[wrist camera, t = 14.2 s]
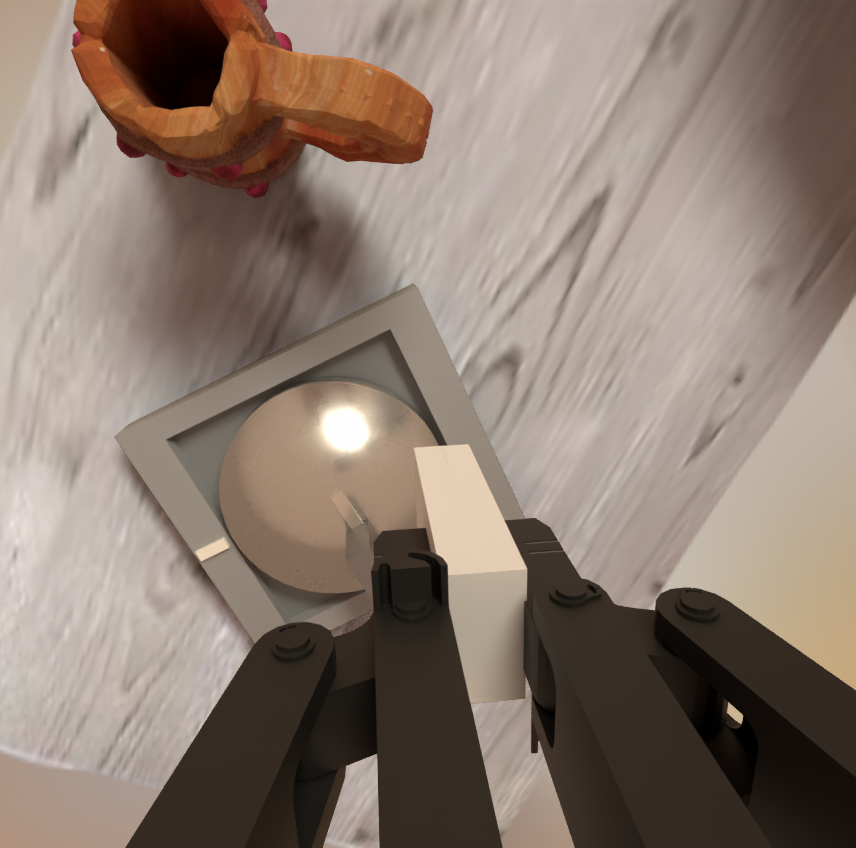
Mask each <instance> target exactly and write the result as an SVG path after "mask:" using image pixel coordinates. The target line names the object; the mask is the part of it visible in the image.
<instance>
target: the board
mask: <svg viewBox="0 0 856 848" xmlns="http://www.w3.org/2000/svg"><path fill="white" fill-rule="evenodd" d="M323 376H348V377H354V378H359V379H364V380H367V381H371V382H374V383H377V384H379V385H381V386H383V387H386V388H388V389H390V390H392V391H393V392H395V393H396V394H398V395H399V396H401V397H403V398H404V399H405V400H406V401H407V402H408V403H410V404H411V405H412V406H413V407H414V408H415V409H416V410H417V411H418V412H419V413H420V415H421V416H422V417H423V418H424V420H425V421H426V423H427V424H428V425H429V427H430V428H431V430H432V432H433V434H434V436H435V438H436V441H437V443H438V445H439V446H447V445H463V444H469V446H470V448H471V450H472V452H473V455H474V457H475V459H476V461H477V463H478V465H479V467H480V469H481V472H482V474H483V476H484V478H485V480H486V482H487V484H488V487H489V489H490V491H491V493H492V495H493V497H494V499H495V501H496V504H497V506H498V508H499V510H500V512H501V514H502V516H503V519H504V520H515V519H525V517H524V515H523V512H522V510H521V508H520V506H519V504H518V502H517V500H516V497H515V495H514V493H513V491H512V489H511V487H510V485H509V482H508V480H507V478H506V476H505V474H504V472H503V470H502V467H501V465H500V463H499V461H498V459H497V457H496V455H495V452H494V450H493V448H492V446H491V444H490V442H489V440H488V437H487V435H486V433H485V431H484V429H483V427H482V425H481V422H480V420H479V418H478V416H477V414H476V412H475V410H474V407H473V405H472V403H471V401H470V399H469V397H468V395H467V393H466V390H465V388H464V386H463V384H462V382H461V380H460V378H459V375H458V373H457V371H456V369H455V367H454V365H453V363H452V360H451V358H450V356H449V354H448V352H447V350H446V348H445V345H444V343H443V341H442V339H441V337H440V335H439V333H438V330H437V328H436V326H435V324H434V322H433V320H432V318H431V315H430V313H429V311H428V309H427V307H426V305H425V303H424V300H423V298H422V296H421V294H420V292H419V290H418V288H417V286H415V285H414V284H411V285H409V286H407V287H405V288H403V289H401V290H399V291H397V292H395V293H393V294H391V295H389V296H387V297H385V298H383V299H381V300H379V301H377V302H375V303H373V304H371V305H369V306H367V307H365V308H363V309H361V310H359V311H357V312H355V313H353V314H351V315H349V316H347V317H345V318H343V319H341V320H338V321H336V322H334V323H332V324H330V325H328V326H326V327H324V328H322V329H320V330H318V331H316V332H314V333H312V334H310V335H308V336H306V337H304V338H302V339H300V340H298V341H296V342H294V343H292V344H290V345H288V346H286V347H284V348H282V349H280V350H278V351H276V352H274V353H272V354H270V355H268V356H266V357H264V358H262V359H260V360H258V361H256V362H254V363H252V364H249V365H247V366H245V367H243V368H241V369H239V370H237V371H235V372H233V373H231V374H229V375H227V376H225V377H223V378H221V379H219V380H217V381H215V382H213V383H211V384H209V385H207V386H205V387H203V388H201V389H199V390H197V391H195V392H193V393H191V394H189V395H187V396H185V397H183V398H181V399H179V400H177V401H175V402H173V403H171V404H169V405H167V406H165V407H163V408H160V409H158V410H156V411H154V412H152V413H150V414H148V415H146V416H144V417H142V418H140V419H138V420H136V421H134V422H132V423H130V424H129V425H127V426H126V427H125V428H124V429H123V430H122V431H120V432H119V433H118V434H117V435H116V436H114V438H115V439H116V440H117V442H118V443H119V445H120V446H121V448H122V449H123V451H124V452H125V454H126V455H127V457H128V458H129V460H130V461H131V463H132V464H133V465H134V467H135V468H136V470H137V471H138V473H139V474H140V476H141V477H142V479H143V480H144V482H145V483H146V485H147V486H148V487H149V489H150V490H151V492H152V493H153V495H154V496H155V498H156V499H157V501H158V502H159V504H160V505H161V507H162V508H163V509H164V511H165V512H166V514H167V515H168V517H169V518H170V520H171V521H172V523H173V524H174V526H175V527H176V529H177V530H178V532H179V533H180V534H181V536H182V537H183V539H184V540H185V542H186V543H187V545H188V546H189V548H190V549H191V551H192V552H193V554H194V555H195V556H196V558H197V559H198V561H199V562H200V564H201V565H202V567H203V568H204V570H205V571H206V573H207V574H208V576H209V577H210V579H211V580H212V581H213V583H214V584H215V586H216V587H217V589H218V590H219V592H220V593H221V595H222V596H223V598H224V599H225V601H226V602H227V603H228V605H229V606H230V608H231V609H232V611H233V612H234V614H235V615H236V617H237V618H238V620H239V621H240V623H241V624H242V625H243V627H244V628H245V630H246V631H247V633H248V634H249V636H250V637H251V639H252V640H253V642H254V643H256V642H257V641H258V640H259V639H260V638H261V637H262V636H263V635H264V634H265V633H267V632H269V631H271V630H272V629H274V628H276V627H279V626H282V625H286V624H289V623H296V622H310V623H315V624H320V625H322V626H323V627H325V628H327V629H328V630H332V629H334V628H336V627H338V626H340V625H342V624H344V623H346V622H348V621H350V620H353V619H355V618H357V617H359V616H361V615H363V614H365V613H367V612H369V611H371V610H373V609H374V608H373V601H372V599H371V598H370V597H369V595H368V594H367V592H366V591H365V589H363V590H358V591H354V592H346V593H320V592H312V591H307V590H303V589H299V588H295V587H293V586H290V585H287V584H285V583H282V582H280V581H278V580H276V579H275V578H273V577H271V576H269V575H268V574H266V573H265V572H263V571H262V570H260V569H259V568H258V567H257V566H256V565H255V564H253V563H252V562H251V561H250V560H249V559H248V558H247V557H246V556H245V555H244V553H243V552H242V551H241V550H240V549H239V547H238V546H237V544H236V543H235V541H234V540H233V538H232V536H231V534H230V532H229V530H228V528H227V526H226V523H225V520H224V517H223V514H222V510H221V504H220V498H219V481H220V474H221V468H222V464H223V461H224V457H225V454H226V452H227V450H228V448H229V445H230V443H231V441H232V439H233V438H234V436H235V434H236V433H237V431H238V429H239V428H240V426H241V425H242V423H243V421H244V420H245V419H246V418H247V416H248V415H249V414H250V413H251V412H252V411H253V409H254V408H256V407H257V406H258V405H259V404H260V403H261V402H262V401H263V400H264V399H266V398H267V397H269V396H270V395H272V394H273V393H275V392H276V391H278V390H280V389H282V388H284V387H286V386H288V385H290V384H293V383H296V382H299V381H302V380H306V379H311V378H316V377H323Z"/></svg>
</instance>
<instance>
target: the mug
mask: <svg viewBox="0 0 856 848" xmlns="http://www.w3.org/2000/svg"><path fill="white" fill-rule="evenodd" d="M266 9H267V1H266V0H77V1H76V6H75V10H74V21H73V23H74V25H75V26H76V28H77V29H78V31H77V32H76V33H74V34H73V44H72V45H73V46H74V48H73V49H72V50H71V51H72V54H73V56H74V59H75V62H76V64H77V67H78V70H79V72H80V75H81V77H82V80H83V82H84V83H85V84H86V86H87V87H88V89H89V90H90V91H91V93H92V95H93V96H94V98H95V99H96V101H97V103H98V105H99V107H100V109H101V111H102V112H103V113H104V115H105V116H106V117H107V118H108V120H109V121H110V122H111V124H112V125H113V127H114V128H115V130H116V131H117V137H116V139H117V145H118V147H119V149H120V150H121V151H122V152H123V153H124V154H126V155H127V156H128V157H130V158H138V157H142V156H144V155H145V154H149V155H151V156H153V157H155V158H158V159H160V160H163V161H166V167H167V170H168V172H169V173H170V174H172V175H173V176H176V177H184V176H186V175H187V174H190V175H192V176H194V177H196V178H198V179H201V180H204V181H206V182H209V183H211V184H214V185H218V186H221V187H229V188H236V189H242V188H244V189H245V191H246V192H247V194H248V195H249V196H252V197H254V198H260V197H262V196H264V195H265V194H266V192H267V190H268V187H269V184H268V183H270V182H271V181H273V180H275V179H277V178H279V177H280V176H282V175H283V174H284V173H285V172H286V171H287V169H288V168H289V167H290V166H291V165H292V164H293V163H294V162H295V160H296V159H297V158H298V157H299V156H300V154H301V153H302V151H303V149H304V147H305V145H306V143H307V144H310V145H313V146H316V147H319V148H321V149H322V150H324V151H326V152H328V153H330V154H331V155H333V156H335V157H337V158H339V159H342V160H344V161H346V162H351V161H369V162H380V163H393V164H404V163H413V162H416V161H419V160H420V159H421V158H423V154H424V151H425V147H426V144H427V141H426V139H427V138H428V134H429V129H430V122H431V118H432V113H433V109H432V106H431V104H430V103H429V101H428V100H427V99H426V97H425V96H424V95H423V94H422V93H420V92H419V91H418V90H416V89H415V88H414V87H412V86H411V85H409V84H408V83H407V82H405V81H404V80H402V79H401V78H399V77H398V76H397V75H395V74H393V73H391V72H389V71H386V70H384V69H381V68H379V67H376V66H374V65H372V64H369V63H365V62H362V61H359V60H356V59H353V58H344V57H334V56H322V55H308V54H303V53H297V52H292V43H291V41H290V39H289V37H288V36H287V35H286V34H283V33H281V32H274V30H273V28H272V27H271V25H270V23H269V21H268V20H267V18H266V16H265V15H264V13H265V11H266Z"/></svg>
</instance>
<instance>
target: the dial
mask: <svg viewBox="0 0 856 848" xmlns="http://www.w3.org/2000/svg"><path fill="white" fill-rule="evenodd" d="M431 446H439V445H438V443H437V441H436V438H435V436H434V434H433V432H432V430H431V428H430V427H429V425H428V424H427V423H426V421H425V420H424V418H423V417H422V416H421V415H420V413H419V412H418V411H417V410H416V409H415V408H414V407H413V406H412V405H411V404H410V403H408V402H407V401H406V400H405V399H404V398H403V397H401V396H399V395H398V394H396V393H395V392H393V391H392V390H390V389H388V388H386V387H383V386H381V385H379V384H377V383H374V382H371V381H367V380H364V379H359V378H354V377H348V376H323V377H316V378H311V379H306V380H302V381H299V382H296V383H293V384H290V385H288V386H286V387H284V388H282V389H280V390H278V391H276V392H275V393H273V394H272V395H270V396H269V397H267V398H266V399H264V400H263V401H262V402H261V403H260V404H259V405H258V406H257V407H256V408H254V409H253V411H252V412H251V413H250V414H249V415H248V416H247V418H246V419H245V420H244V421H243V423H242V425H241V426H240V428H239V429H238V431H237V433H236V434H235V436H234V438H233V439H232V441H231V443H230V445H229V448H228V450H227V452H226V454H225V457H224V461H223V464H222V468H221V474H220V481H219V498H220V504H221V510H222V514H223V517H224V520H225V523H226V526H227V528H228V530H229V532H230V534H231V536H232V538H233V540H234V541H235V543H236V544H237V546H238V547H239V549H240V550H241V551H242V552H243V553H244V555H245V556H246V557H247V558H248V559H249V560H250V561H251V562H252V563H253V564H255V565H256V566H257V567H258V568H259V569H260V570H262V571H263V572H265V573H266V574H268V575H269V576H271V577H273V578H275V579H276V580H278V581H280V582H282V583H285V584H287V585H290V586H293V587H295V588H299V589H303V590H307V591H312V592H320V593H346V592H354V591H358V590H363V589H365V591H366V592H367V594H368V595H369V597H370V598H371V599H372V601H373V594H372V579H371V570H372V567H373V564H374V544H373V542H374V541H375V540H376V539H377V537H378V536H379V535H380V533H381V532H382V531H388V530H402V529H415V528H417V512H416V489H415V466H414V448H416V447H431Z"/></svg>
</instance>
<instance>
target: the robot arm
mask: <svg viewBox="0 0 856 848" xmlns="http://www.w3.org/2000/svg"><path fill="white" fill-rule="evenodd" d="M414 466H415V489H416V512H417V528H415V529H402V530H388V531H382V532H381V533H380V535H379V536H378V537H377V539H376V540H375V541H374V542H373V544H374V564H373V567H372V570H371V579H372V594H373V608H374V612H373V614H372V616H371V617H370V619H369V620H368V621H367V622H366V623H365V624H363V625H362V626H360V627H359V628H357V629H355V630H354V631H351V632H348V633H346V634H343V635H340V636H337V637H333V636H332V634H331V632H330V630H328V629H327V628H325V627H323V626H322V625H320V624H315V623H310V622H296V623H289V624H286V625H282V626H279V627H276V628H274V629H272V630H271V631H269V632H267V633H265V634H264V635H263V636H262V637H261V638H260V639H259V640H258V641H257V642H256V643H255V644H254V646H253V647H252V649H251V651H250V652H249V654H248V655H247V657H246V658H245V660H244V662H243V663H242V665H241V666H240V668H239V670H238V671H237V673H236V674H235V676H234V677H233V679H232V681H231V682H230V684H229V685H228V687H227V688H226V690H225V692H224V693H223V695H222V696H221V698H220V699H219V701H218V703H217V704H216V706H215V707H214V709H213V710H212V712H211V714H210V715H209V717H208V718H207V720H206V722H205V723H204V725H203V726H202V728H201V729H200V731H199V733H198V734H197V736H196V737H195V739H194V740H193V742H192V744H191V745H190V747H189V748H188V750H187V751H186V753H185V755H184V756H183V758H182V759H181V761H180V762H179V764H178V766H177V767H176V769H175V770H174V772H173V774H172V775H171V777H170V778H169V780H168V781H167V783H166V785H165V786H164V788H163V789H162V791H161V792H160V794H159V796H158V797H157V799H156V800H155V802H154V803H153V805H152V807H151V808H150V810H149V811H148V813H147V815H146V816H145V818H144V819H143V821H142V822H141V824H140V826H139V827H138V829H137V830H136V832H135V833H134V835H133V837H132V838H131V840H130V842H129V843H128V845H127V846H126V848H323V845H324V841H325V838H326V835H327V832H328V829H329V826H330V823H331V820H332V816H333V813H334V810H335V807H336V804H337V801H338V798H339V795H340V792H341V788H342V785H343V782H344V779H345V772H346V766H347V765H349V764H352V763H354V762H357V761H359V760H362V759H364V758H367V757H370V756H372V755H375V754H377V760H378V800H379V841H380V848H502V843H501V838H500V834H499V829H498V825H497V820H496V816H495V811H494V807H493V802H492V798H491V793H490V789H489V784H488V780H487V775H486V771H485V766H484V762H483V757H482V753H481V748H480V744H479V739H478V735H477V730H476V726H475V721H474V717H473V712H472V708H471V704H473V703H484V702H494V701H504V700H515V699H525V679H526V677H527V680H528V683H529V686H530V689H531V691H532V708H531V753H538V741H540V744H541V747H542V750H543V753H544V756H545V759H546V762H547V765H548V768H549V771H550V774H551V777H552V780H553V783H554V786H555V789H556V792H557V795H558V798H559V801H560V804H561V807H562V810H563V813H564V816H565V819H566V822H567V825H568V828H569V831H570V834H571V837H572V840H573V843H574V846H575V848H856V690H854V689H853V688H851V687H850V686H849V685H847V684H846V683H844V682H843V681H841V680H840V679H839V678H837V677H836V676H834V675H833V674H832V673H830V672H829V671H827V670H826V669H824V668H823V667H822V666H820V665H819V664H817V663H816V662H814V661H813V660H812V659H810V658H809V657H807V656H806V655H804V654H803V653H801V652H800V651H799V650H797V649H796V648H795V647H793V646H792V645H790V644H789V643H787V642H786V641H785V640H783V639H782V638H780V637H779V636H777V635H776V634H775V633H773V632H772V631H770V630H769V629H767V628H766V627H765V626H763V625H762V624H760V623H759V622H757V621H756V620H755V619H753V618H752V617H750V616H749V615H748V614H746V613H745V612H743V611H742V610H740V609H739V608H737V607H736V606H735V605H733V604H732V603H730V602H729V601H727V600H726V599H724V598H722V597H720V596H718V595H716V594H714V593H710V592H707V591H704V590H702V589H697V588H676V589H670V590H668V591H665V592H663V593H661V594H660V595H659V597H658V598H657V600H656V607H655V610H646V609H637V608H629V607H624V606H618V605H615V604H614V603H613V602H612V600H611V599H610V597H609V595H608V594H607V593H606V592H605V591H604V590H603V589H602V588H601V587H600V586H599V585H597V584H595V583H593V582H591V581H589V580H586V579H582V578H580V576H579V574H578V573H577V571H576V569H575V568H574V566H573V565H572V563H571V561H570V560H569V558H568V556H567V555H566V553H565V551H563V548H562V546H561V545H560V543H559V542H557V538H556V537H555V535H554V533H553V532H552V530H551V528H550V527H548V526H547V525H545V524H544V523H542V522H540V521H539V520H537V519H536V518H529V519H515V520H504V519H503V516H502V514H501V512H500V510H499V508H498V506H497V504H496V501H495V499H494V497H493V495H492V493H491V491H490V489H489V487H488V484H487V482H486V480H485V478H484V476H483V474H482V472H481V469H480V467H479V465H478V463H477V461H476V459H475V457H474V455H473V452H472V450H471V448H470V446H469V444H463V445H447V446H431V447H416V448H414ZM728 702H729V703H730V704H731V705H733V706H734V707H735V708H736V709H737V710H738V711H739V712H740V713H742V715H743V721H742V724H739V723H738V722H737V721H735V720H734V719H733V718H732V717H731V716H730V715H729V714H728V713H727V708H728Z"/></svg>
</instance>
